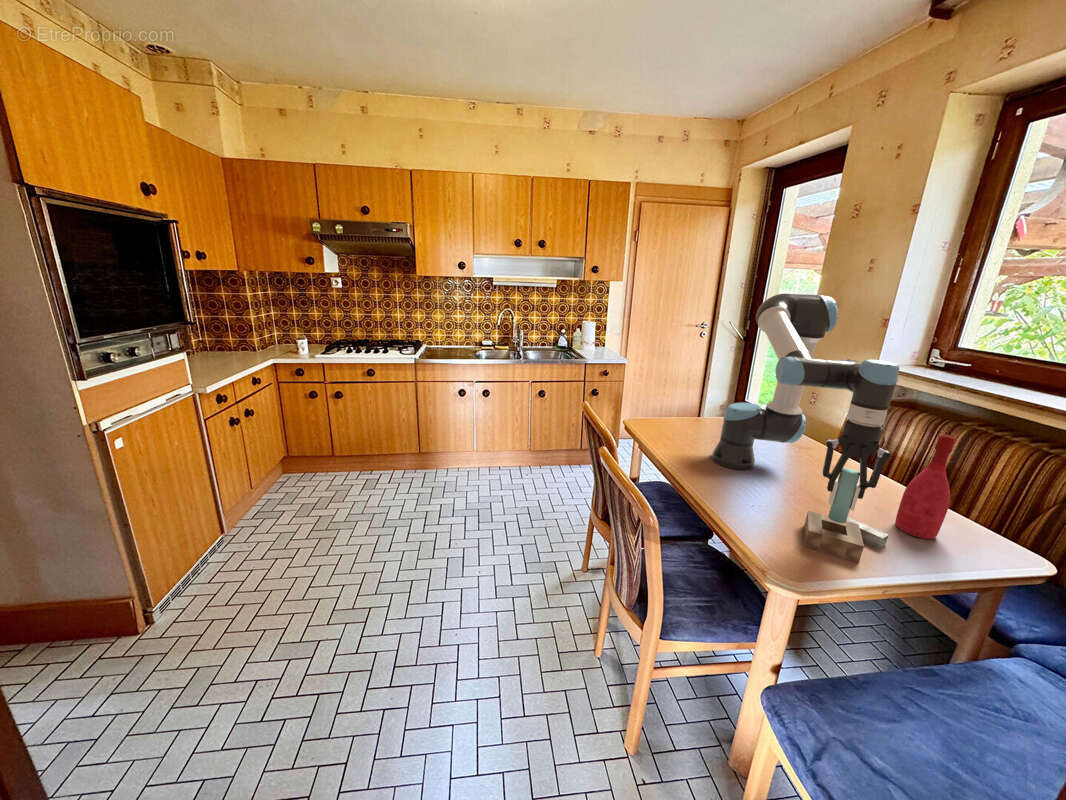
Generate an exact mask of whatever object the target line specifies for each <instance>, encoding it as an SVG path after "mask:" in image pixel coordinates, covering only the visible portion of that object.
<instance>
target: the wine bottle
mask: <svg viewBox="0 0 1066 800" xmlns="http://www.w3.org/2000/svg"><path fill="white" fill-rule="evenodd" d="M955 441H956V438H955V437H954V436H952V435H949V434H940V435H938V438H937V441H936V443H935V445H934V450H935V452H934V455H933V457H932V458H931V460H930V462H929V464H928V465H927V466H926V467H925V468H924V469H923V470H922V471H920V472H919V473H918V474H917V475H916V476H914V478H913V479H912V480H911V481H910V482H909V483H908V485H907V486H906V487H905V488H904V491H903V493H902V497H901V500H900V503H899V507H898V510H897V512H896V515H895V521H894V523H895V526H896V527H897V528H898V529H899V530H901V531H902V532H904V533H906V534H907V535H910V536H912V537H913V536H914V537H916V538H920V539H924V540H925V539H927V540H931V539H935V538H936V537H938V535H939V533H940V530H941V528H942V525H943V524H944V521H945V518H946V515H947V514H948V510H949V507H950V504H951V490H950V489H951V488H950V484H949V480H948V477H947V473H946V472H947V471H946V470H947V469H946V467H947V461H948V456H949V454H950V453H952V452H953V447H954V443H955Z"/></svg>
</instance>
